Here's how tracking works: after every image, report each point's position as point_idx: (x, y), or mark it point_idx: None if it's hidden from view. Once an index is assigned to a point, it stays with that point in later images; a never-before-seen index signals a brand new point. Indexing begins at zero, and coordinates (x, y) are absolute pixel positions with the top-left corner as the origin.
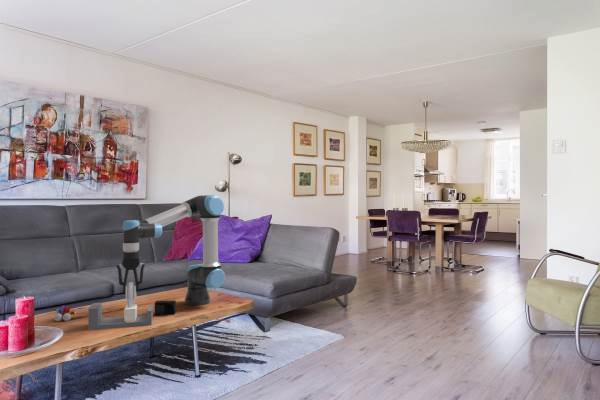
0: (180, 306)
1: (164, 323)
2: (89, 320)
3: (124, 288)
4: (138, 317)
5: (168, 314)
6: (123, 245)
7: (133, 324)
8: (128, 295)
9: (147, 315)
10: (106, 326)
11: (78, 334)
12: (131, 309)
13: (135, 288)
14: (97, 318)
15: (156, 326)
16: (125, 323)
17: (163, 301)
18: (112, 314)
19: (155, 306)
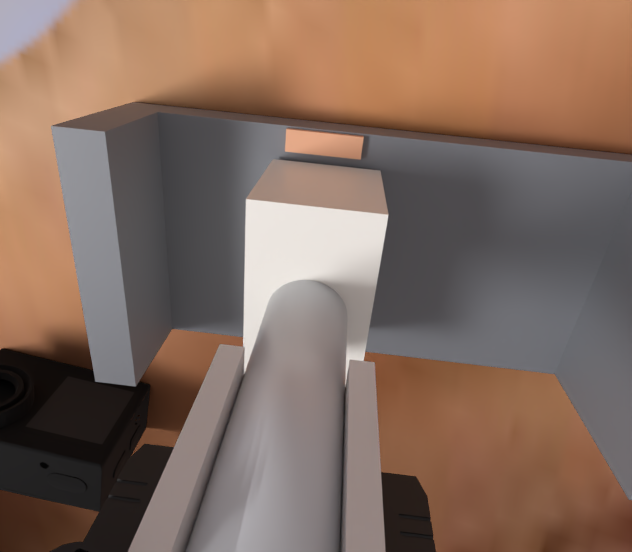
0: (11, 513)
1: (20, 113)
2: None
3: (408, 549)
4: None
5: (43, 361)
6: None
7: (294, 123)
8: (327, 400)
9: (126, 122)
10: (549, 149)
11: None
12: (298, 201)
13: (161, 490)
14: None
15: (75, 28)
16: (370, 132)
17: (28, 475)
18: (442, 510)
19: (110, 435)
